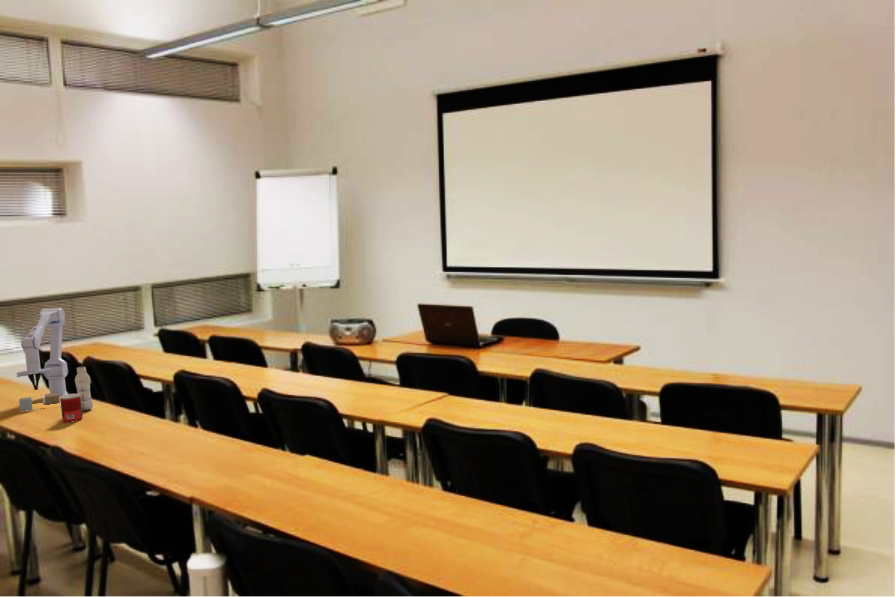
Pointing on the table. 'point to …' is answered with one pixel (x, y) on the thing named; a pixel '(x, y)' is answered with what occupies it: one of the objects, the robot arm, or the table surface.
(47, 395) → the walnut block
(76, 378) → the plastic bottle
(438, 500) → the table surface
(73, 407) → the canned food
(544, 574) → the table surface
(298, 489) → the table surface
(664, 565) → the table surface
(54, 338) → the robot arm
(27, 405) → the gray block
